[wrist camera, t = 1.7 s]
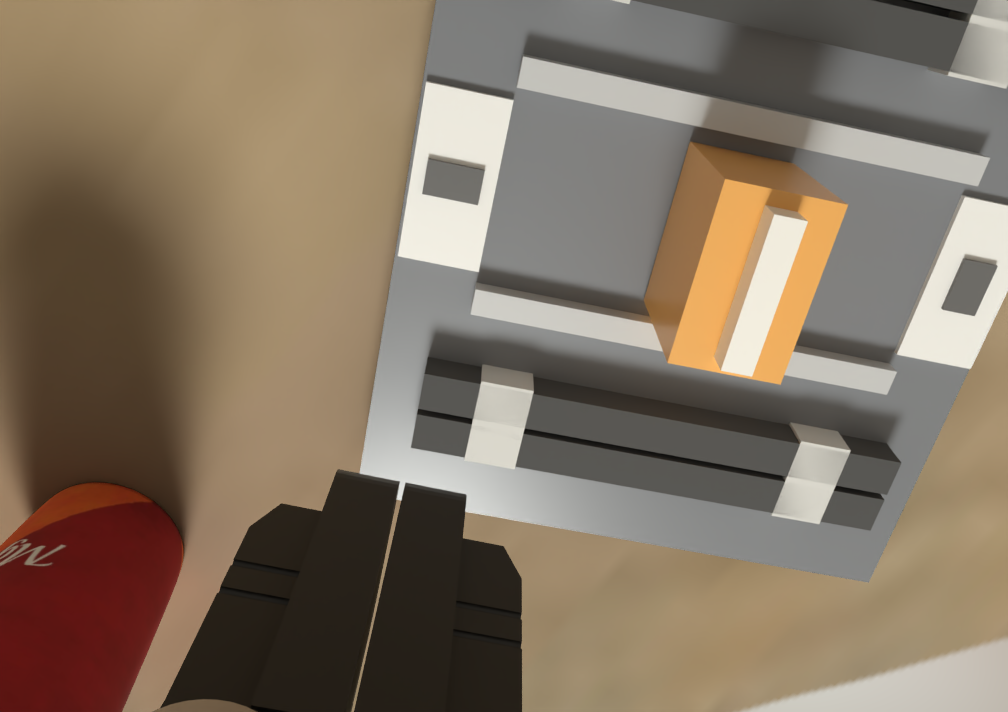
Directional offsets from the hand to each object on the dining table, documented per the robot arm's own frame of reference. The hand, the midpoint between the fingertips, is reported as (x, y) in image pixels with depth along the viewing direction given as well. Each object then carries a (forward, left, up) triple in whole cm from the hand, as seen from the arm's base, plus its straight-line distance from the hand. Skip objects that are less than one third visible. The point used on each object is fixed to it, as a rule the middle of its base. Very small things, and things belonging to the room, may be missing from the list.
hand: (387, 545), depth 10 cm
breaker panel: (0, +7, -19) cm, 20 cm away
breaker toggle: (0, +7, -16) cm, 18 cm away
